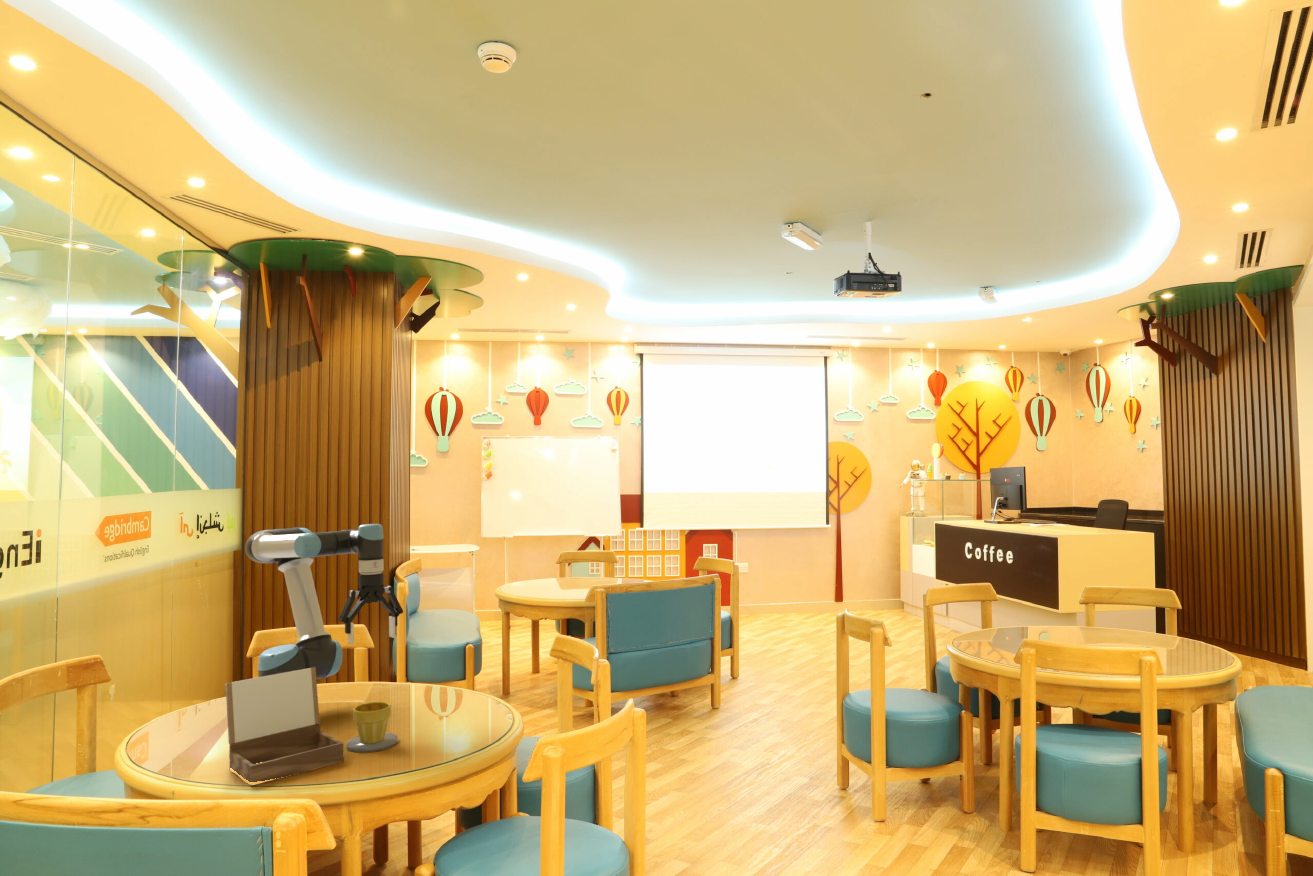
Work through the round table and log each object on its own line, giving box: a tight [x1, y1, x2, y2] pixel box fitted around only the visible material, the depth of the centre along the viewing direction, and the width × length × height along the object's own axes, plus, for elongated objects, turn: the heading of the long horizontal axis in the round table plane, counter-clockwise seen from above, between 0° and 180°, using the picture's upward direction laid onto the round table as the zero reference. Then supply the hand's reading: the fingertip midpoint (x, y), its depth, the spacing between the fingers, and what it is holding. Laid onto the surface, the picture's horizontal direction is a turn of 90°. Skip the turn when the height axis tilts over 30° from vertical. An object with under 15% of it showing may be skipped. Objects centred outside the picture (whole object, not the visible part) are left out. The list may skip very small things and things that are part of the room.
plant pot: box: [352, 701, 392, 744], centre depth 238 cm, size 10×10×10 cm
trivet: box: [346, 732, 398, 753], centre depth 238 cm, size 14×14×1 cm
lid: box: [225, 667, 321, 745], centre depth 229 cm, size 4×24×16 cm, turn 134°
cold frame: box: [229, 723, 344, 782], centre depth 222 cm, size 17×24×7 cm
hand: (371, 640), depth 257 cm, fingers open, 13 cm apart
